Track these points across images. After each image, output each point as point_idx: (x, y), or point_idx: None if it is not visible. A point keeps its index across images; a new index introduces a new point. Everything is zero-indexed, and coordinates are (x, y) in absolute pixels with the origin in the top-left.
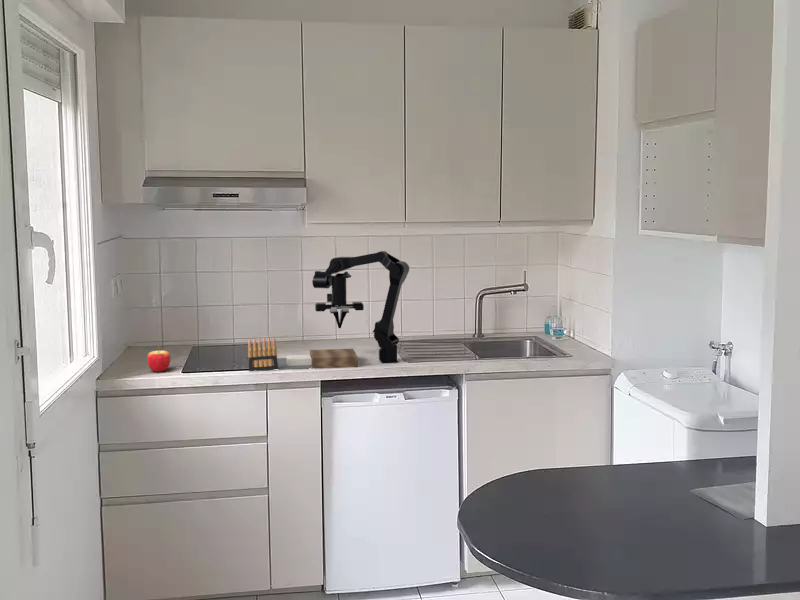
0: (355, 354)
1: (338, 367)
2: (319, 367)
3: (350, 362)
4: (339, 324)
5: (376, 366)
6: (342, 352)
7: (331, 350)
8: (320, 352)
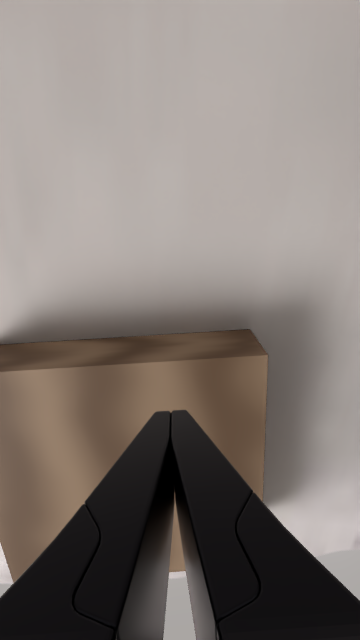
0: None
1: None
2: None
3: None
4: (170, 514)
5: (331, 510)
6: None
7: (109, 404)
8: (38, 457)
